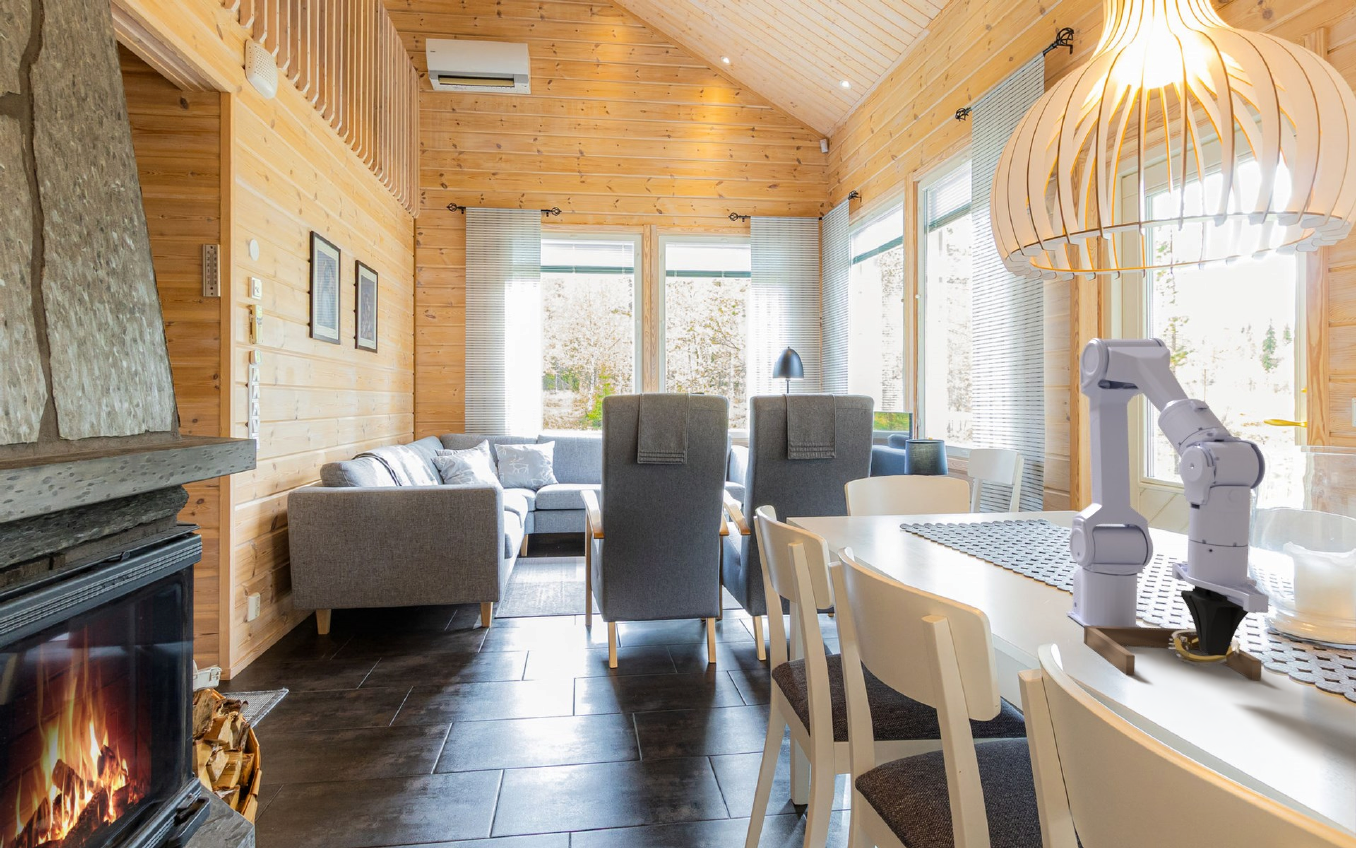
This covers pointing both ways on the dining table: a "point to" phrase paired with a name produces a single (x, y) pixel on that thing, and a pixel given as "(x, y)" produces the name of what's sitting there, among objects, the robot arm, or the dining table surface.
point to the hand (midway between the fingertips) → (1213, 653)
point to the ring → (1183, 645)
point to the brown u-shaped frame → (1113, 638)
